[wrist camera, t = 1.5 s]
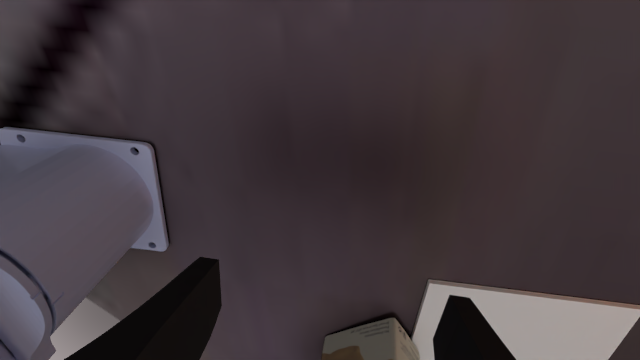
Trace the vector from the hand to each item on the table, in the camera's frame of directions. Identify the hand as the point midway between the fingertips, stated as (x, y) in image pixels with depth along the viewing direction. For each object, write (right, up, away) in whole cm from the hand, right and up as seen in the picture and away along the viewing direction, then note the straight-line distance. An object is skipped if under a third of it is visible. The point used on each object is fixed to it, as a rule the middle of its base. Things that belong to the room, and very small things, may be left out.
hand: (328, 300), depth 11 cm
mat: (+14, -10, +16) cm, 23 cm away
